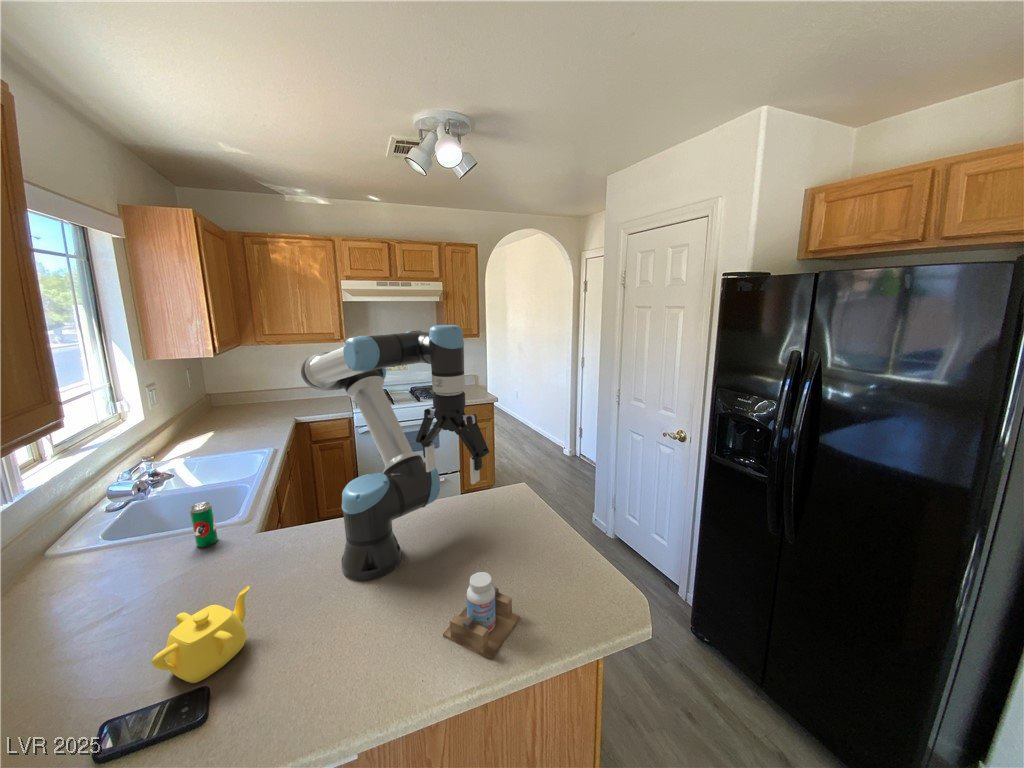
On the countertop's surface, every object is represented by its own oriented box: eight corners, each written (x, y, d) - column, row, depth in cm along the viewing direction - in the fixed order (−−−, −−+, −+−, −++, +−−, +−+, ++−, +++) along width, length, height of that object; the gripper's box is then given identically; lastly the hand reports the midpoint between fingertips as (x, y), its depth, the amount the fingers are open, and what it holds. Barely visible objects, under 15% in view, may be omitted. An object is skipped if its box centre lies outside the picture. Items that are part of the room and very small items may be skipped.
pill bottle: (474, 640, 83) (472, 593, 81) (463, 620, 88) (461, 575, 86) (500, 629, 86) (499, 583, 84) (488, 610, 91) (487, 566, 89)
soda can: (221, 541, 119) (214, 504, 116) (201, 550, 114) (193, 512, 112) (213, 536, 121) (206, 499, 119) (193, 544, 117) (185, 507, 114)
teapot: (186, 639, 85) (177, 597, 83) (257, 623, 89) (249, 582, 87) (155, 700, 72) (143, 652, 70) (239, 677, 76) (230, 631, 74)
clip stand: (442, 636, 85) (441, 613, 84) (475, 599, 95) (474, 578, 94) (491, 660, 79) (490, 636, 78) (520, 618, 90) (520, 596, 88)
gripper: (397, 389, 97) (403, 471, 102) (484, 402, 86) (486, 494, 90) (419, 383, 104) (423, 460, 109) (502, 394, 92) (503, 480, 97)
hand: (452, 475), depth 99 cm, fingers open, 13 cm apart
